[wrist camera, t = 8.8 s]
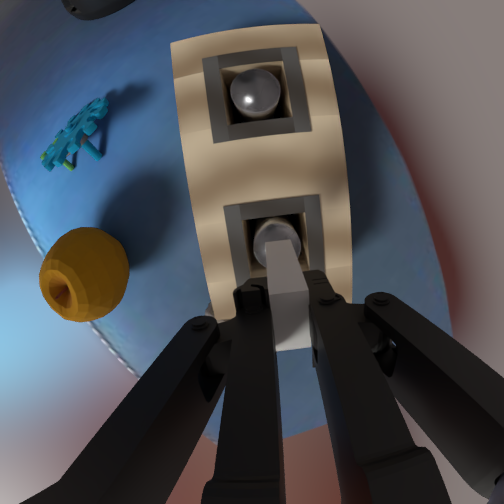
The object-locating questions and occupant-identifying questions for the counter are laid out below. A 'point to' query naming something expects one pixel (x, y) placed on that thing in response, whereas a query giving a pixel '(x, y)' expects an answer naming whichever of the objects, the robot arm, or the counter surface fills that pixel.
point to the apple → (84, 274)
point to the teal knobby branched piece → (75, 136)
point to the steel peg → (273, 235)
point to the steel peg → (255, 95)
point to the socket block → (263, 155)
